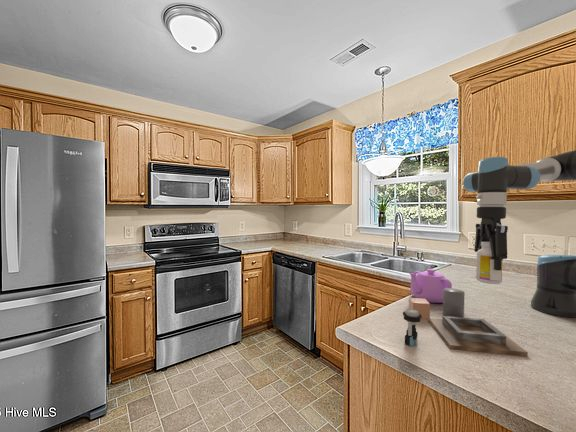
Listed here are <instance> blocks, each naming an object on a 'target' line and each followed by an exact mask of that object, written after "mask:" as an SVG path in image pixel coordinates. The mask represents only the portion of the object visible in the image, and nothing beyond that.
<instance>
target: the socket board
mask: <svg viewBox="0 0 576 432" xmlns="http://www.w3.org/2000/svg"><path fill="white" fill-rule="evenodd" d="M428 323H429V324H430V325H431V326H432V328H433V329H434V330H435V331H436V332H437V334H438V336H439V337H440V338H441V339H442V340H443V341H444V343H445V344H446V346H448V348H449V349H450V350H458V351H467V352H479V353H487V354H488V353H489V354H500V355H508V356H509V355H510V356H519V357H520V356H521V357H528V355H529V354H528V353H529V352H528V351H527V350H526V349H525V348H523V347H522V346H520V345H519V344H517V342H515V341H513V340H512V339H511V338H510V337H508V336H507V335H506V334H505V333H503V331H501V330H500V329H498V328H497V327H496V326H494V325H493V324H492V323H490V322H488V321H487V320H486V319H485V318H476V317H465V316H464V317H451V316H443V315H442V318H434V317H433V318H432V317H430V318H429V319H428Z"/></svg>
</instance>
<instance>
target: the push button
mask: <svg viewBox="0 0 576 432" xmlns="http://www.w3.org/2000/svg"><path fill="white" fill-rule="evenodd" d="M402 316H403V320H405V321H406V322H407V323H408V324H407V326H408V327H407V329H406V333H405V336H404V345H407V346H410V347H413V346H414V345H418V336H419V334H418V332H417V328H416V324H418V323H420V322H421V320H422V319H421V318H422V315H421V314H419V312H418V311H416V310H413V309H409V308H408V309H406V310H405V311H403V312H402Z"/></svg>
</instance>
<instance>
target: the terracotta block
mask: <svg viewBox="0 0 576 432" xmlns="http://www.w3.org/2000/svg"><path fill="white" fill-rule="evenodd" d="M408 309H413V310H416V311H418V312H419V314H421V315H422V318H421V319H420V320H429V318H431V315H430V313H431V312H430V311H431V303H430V302H428V301H427V300H426V299H422V298H416V297H408Z"/></svg>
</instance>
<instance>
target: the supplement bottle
mask: <svg viewBox="0 0 576 432" xmlns="http://www.w3.org/2000/svg"><path fill="white" fill-rule="evenodd" d="M481 246H482V248H481V249H480V250H478V251H477V252H476V270H475V271H476V272H475V273H476V274H475V278H476V280H477V281H478V282H480V283H484V284H489V285H491V284H493V285H500V284H501V283H503V264H502V265H501V281H495V280H490V258H491V257H492V252H491V246H490V242H481Z"/></svg>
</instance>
